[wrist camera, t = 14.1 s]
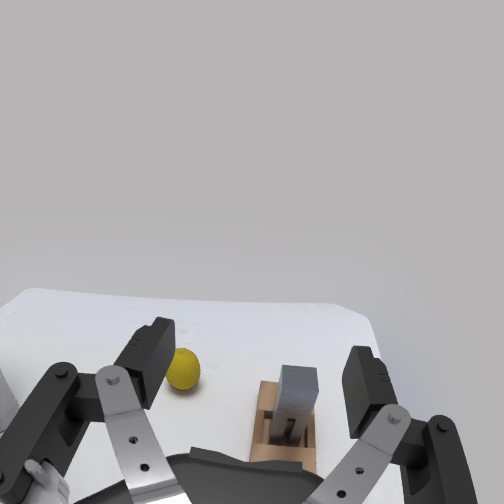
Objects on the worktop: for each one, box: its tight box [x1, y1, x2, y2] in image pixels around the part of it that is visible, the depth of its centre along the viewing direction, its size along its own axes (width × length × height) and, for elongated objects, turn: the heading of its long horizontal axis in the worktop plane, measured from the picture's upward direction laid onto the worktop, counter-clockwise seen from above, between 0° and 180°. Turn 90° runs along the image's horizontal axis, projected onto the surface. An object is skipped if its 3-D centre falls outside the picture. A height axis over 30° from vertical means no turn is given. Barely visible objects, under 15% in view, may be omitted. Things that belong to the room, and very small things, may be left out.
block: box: [267, 365, 319, 447], centre depth 34 cm, size 4×4×12 cm
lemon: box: [165, 348, 200, 390], centre depth 44 cm, size 6×6×8 cm
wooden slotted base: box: [249, 381, 316, 474], centre depth 36 cm, size 8×18×4 cm, turn 174°
